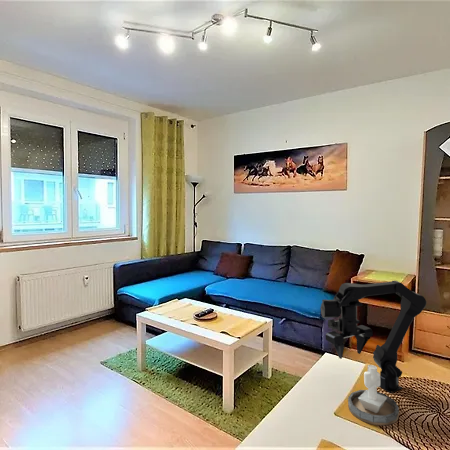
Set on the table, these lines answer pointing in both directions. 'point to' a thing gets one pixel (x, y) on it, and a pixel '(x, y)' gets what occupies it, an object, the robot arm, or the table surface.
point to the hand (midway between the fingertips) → (349, 355)
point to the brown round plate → (383, 411)
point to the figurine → (372, 391)
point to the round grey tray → (371, 417)
